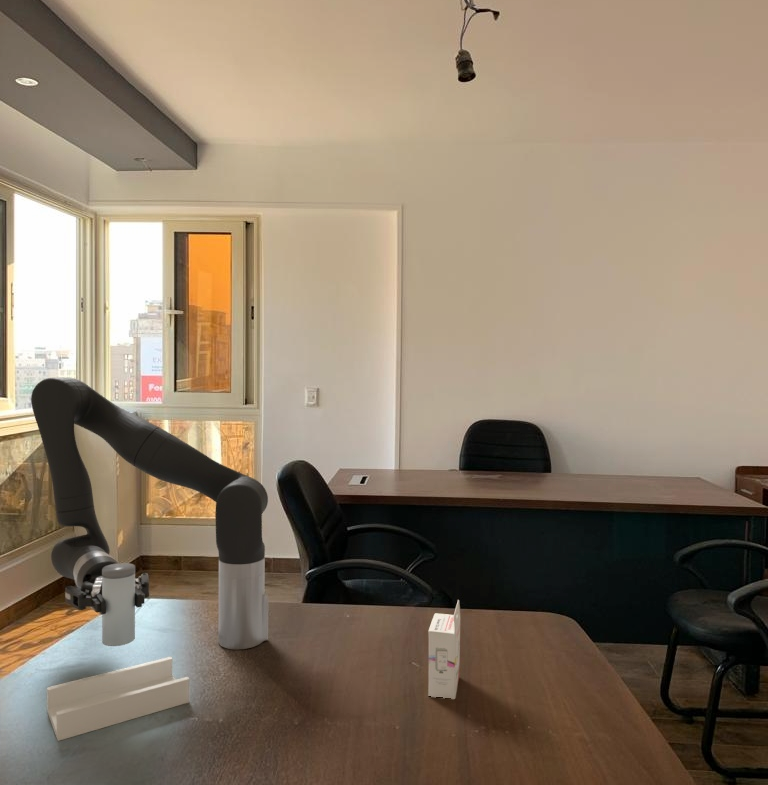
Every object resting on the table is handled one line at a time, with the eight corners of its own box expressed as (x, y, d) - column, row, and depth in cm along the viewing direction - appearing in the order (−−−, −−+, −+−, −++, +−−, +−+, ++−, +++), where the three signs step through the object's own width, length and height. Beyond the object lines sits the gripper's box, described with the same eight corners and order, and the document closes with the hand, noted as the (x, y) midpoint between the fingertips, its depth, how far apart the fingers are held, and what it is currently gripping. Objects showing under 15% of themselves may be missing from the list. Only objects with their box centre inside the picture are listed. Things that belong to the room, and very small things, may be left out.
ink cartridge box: (432, 674, 120) (434, 596, 119) (459, 677, 119) (461, 598, 118) (426, 697, 111) (428, 613, 111) (455, 700, 110) (457, 616, 110)
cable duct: (170, 678, 117) (170, 656, 117) (189, 702, 109) (189, 678, 108) (47, 711, 105) (46, 687, 105) (57, 741, 97) (57, 714, 97)
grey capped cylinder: (130, 630, 110) (130, 561, 109) (138, 641, 106) (138, 569, 105) (99, 637, 107) (98, 566, 106) (106, 648, 103) (105, 574, 102)
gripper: (55, 561, 114) (73, 590, 100) (139, 549, 122) (167, 574, 108) (55, 603, 114) (73, 637, 100) (139, 588, 123) (166, 618, 109)
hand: (122, 604), depth 104 cm, fingers closed on grey capped cylinder, 5 cm apart
